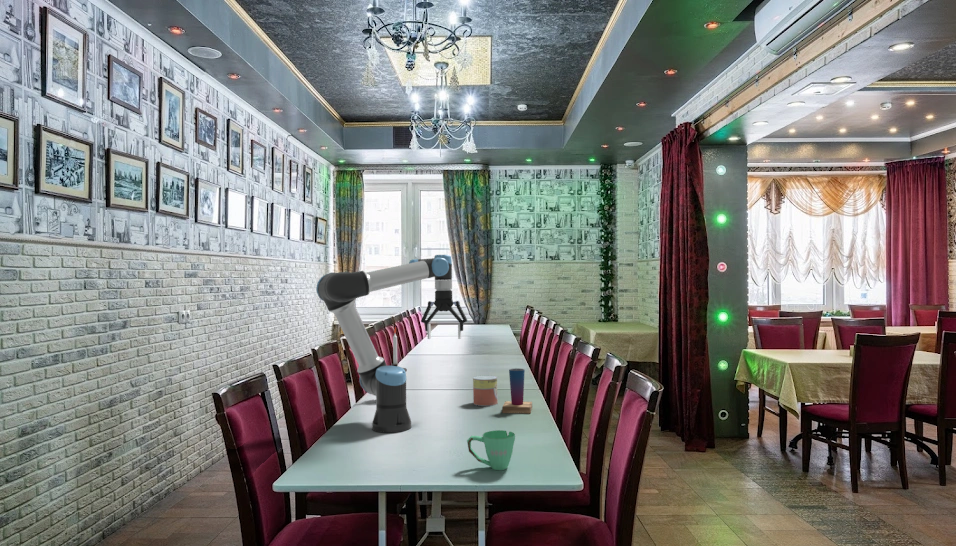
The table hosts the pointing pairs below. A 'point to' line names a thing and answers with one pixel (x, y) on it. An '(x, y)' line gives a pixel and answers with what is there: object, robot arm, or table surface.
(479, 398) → the canned food
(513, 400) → the cup
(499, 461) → the mug
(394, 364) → the candlestick
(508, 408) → the board
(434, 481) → the table surface
